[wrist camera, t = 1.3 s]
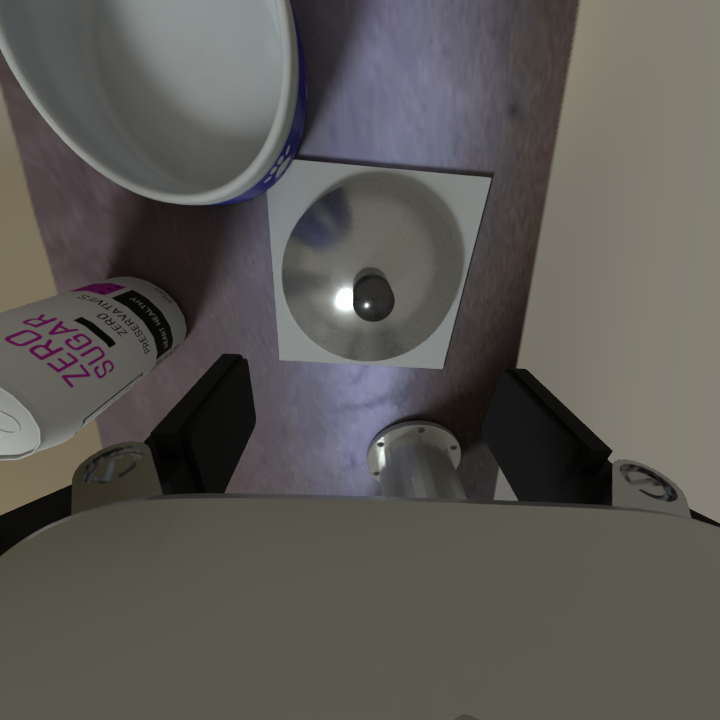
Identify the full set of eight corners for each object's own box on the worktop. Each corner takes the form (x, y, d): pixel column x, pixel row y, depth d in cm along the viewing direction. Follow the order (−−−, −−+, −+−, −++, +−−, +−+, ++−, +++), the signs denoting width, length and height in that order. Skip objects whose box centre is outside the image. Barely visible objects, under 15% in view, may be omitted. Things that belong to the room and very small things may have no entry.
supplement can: (99, 332, 29) (-113, 441, 16) (105, 258, 25) (-164, 317, 12) (181, 363, 31) (53, 482, 18) (197, 298, 27) (51, 387, 14)
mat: (441, 367, 31) (442, 369, 31) (280, 358, 31) (279, 360, 30) (489, 178, 23) (491, 177, 22) (265, 157, 22) (264, 156, 21)
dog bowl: (129, -203, 14) (-9, -450, 9) (355, 66, 19) (353, 10, 14) (52, 95, 20) (-62, 52, 14) (243, 247, 24) (210, 257, 19)
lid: (435, 360, 31) (452, 393, 25) (288, 352, 30) (274, 384, 24) (475, 191, 23) (512, 187, 18) (277, 173, 22) (254, 164, 17)
